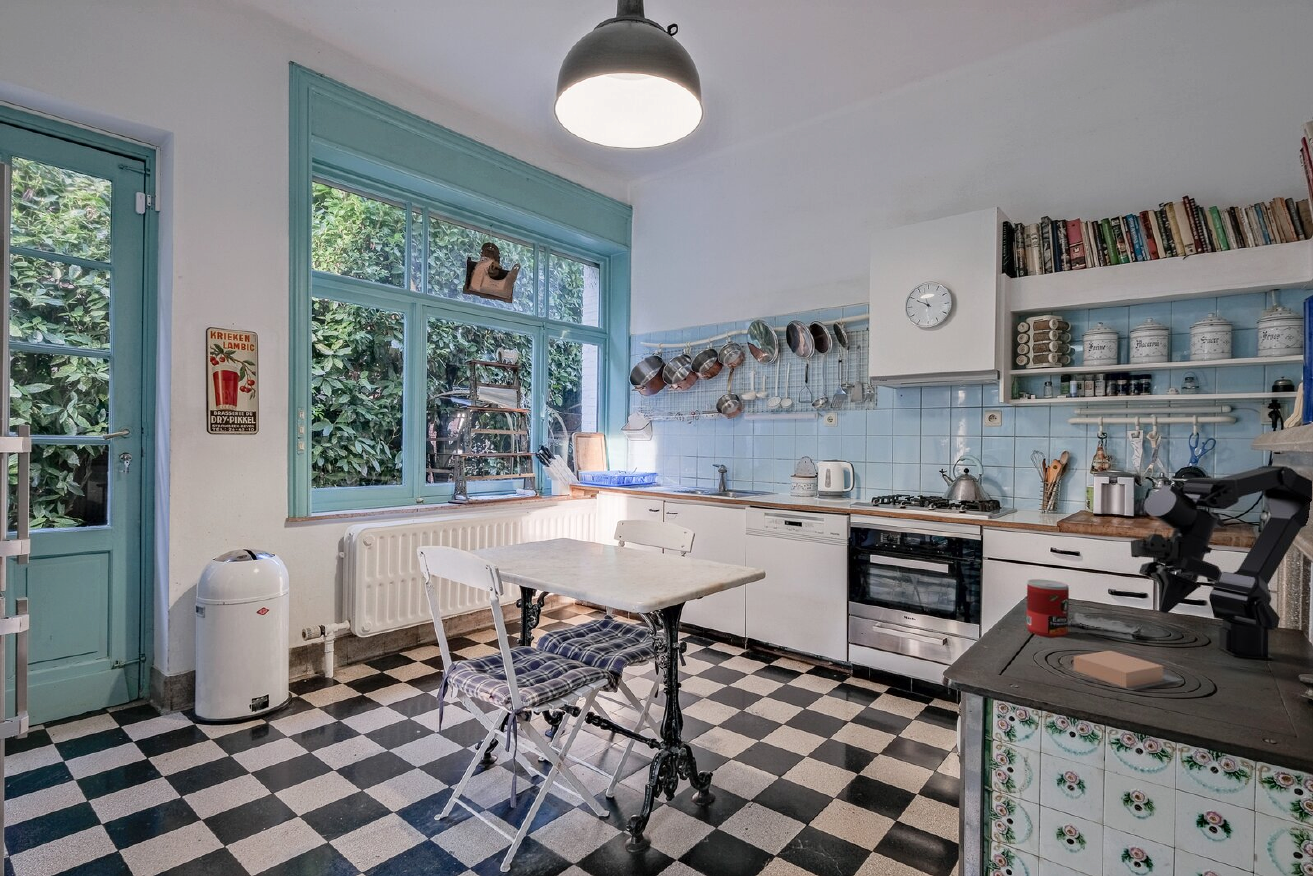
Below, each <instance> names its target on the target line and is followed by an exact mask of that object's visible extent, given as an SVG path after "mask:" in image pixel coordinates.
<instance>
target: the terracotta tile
mask: <svg viewBox="0 0 1313 876" xmlns="http://www.w3.org/2000/svg"><path fill="white" fill-rule="evenodd" d="M1073 668H1074V671H1073V672H1075V671H1077V672H1076V673H1078V672H1080V673H1079V674H1081V673H1083V674H1082V675H1084V674H1086V675H1085V676H1087V675H1089V676H1088V677H1090V676H1092V677H1091V678H1093V677H1095V678H1094V679H1096V678H1098V679H1097V680H1099V679H1101V680H1100V681H1102V680H1104V681H1103V682H1105V681H1107V682H1106V683H1108V682H1110V683H1109V684H1111V683H1113V684H1112V685H1114V684H1116V685H1115V686H1117V685H1119V686H1118V687H1120V686H1122V687H1121V688H1123V687H1125V688H1124V689H1126V688H1127V687H1132V686H1137V685H1142V684H1147V683H1152V682H1157V681H1162V680H1163V674H1164V666H1163V665H1161V664H1158V663H1155V662H1151V661H1147V660H1145V659H1141V658H1138V657H1133V656H1130V655H1126V654H1124V653H1121V652H1120V653H1119V652H1116V651H1113V650H1104V651H1099V652H1092V653H1086V654H1082V655H1081V654H1079V655H1074V656H1073Z"/></svg>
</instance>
